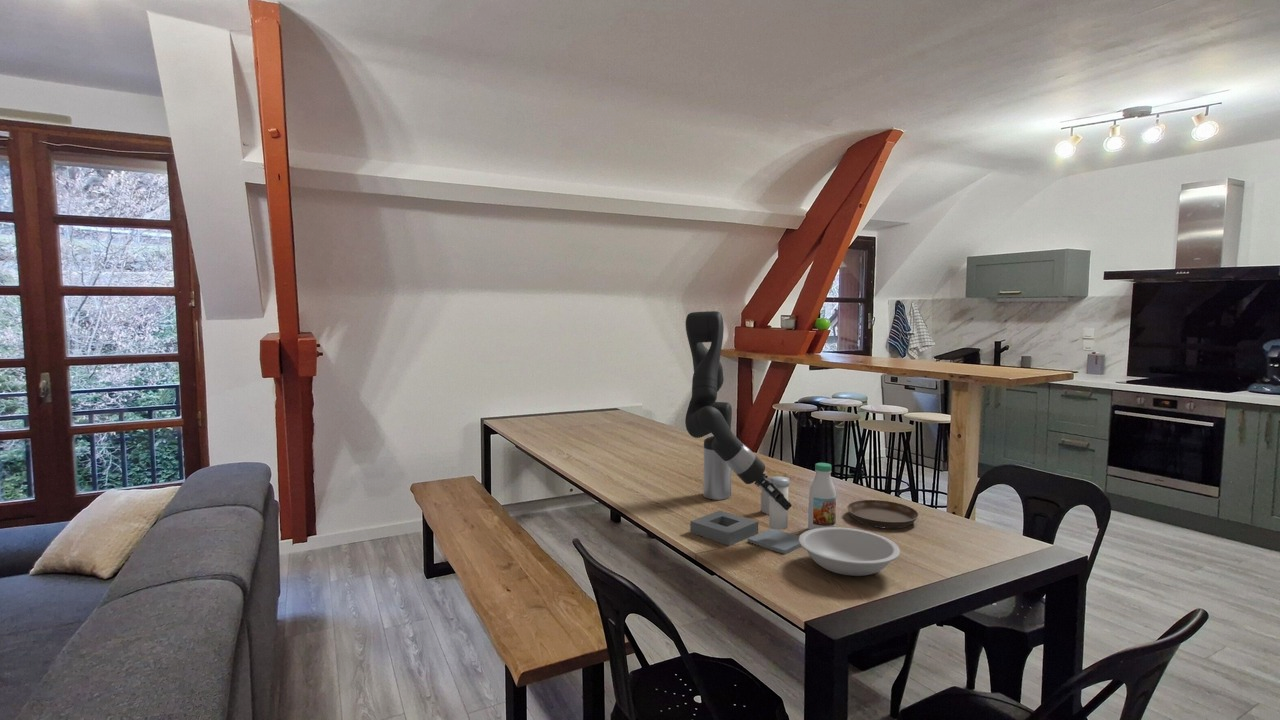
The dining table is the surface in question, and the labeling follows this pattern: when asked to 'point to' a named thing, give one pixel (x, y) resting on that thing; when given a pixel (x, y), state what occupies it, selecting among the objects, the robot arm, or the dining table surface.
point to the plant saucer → (882, 513)
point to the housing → (724, 527)
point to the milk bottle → (822, 499)
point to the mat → (776, 540)
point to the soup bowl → (849, 550)
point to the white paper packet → (765, 503)
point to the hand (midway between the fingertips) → (785, 504)
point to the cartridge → (776, 511)
